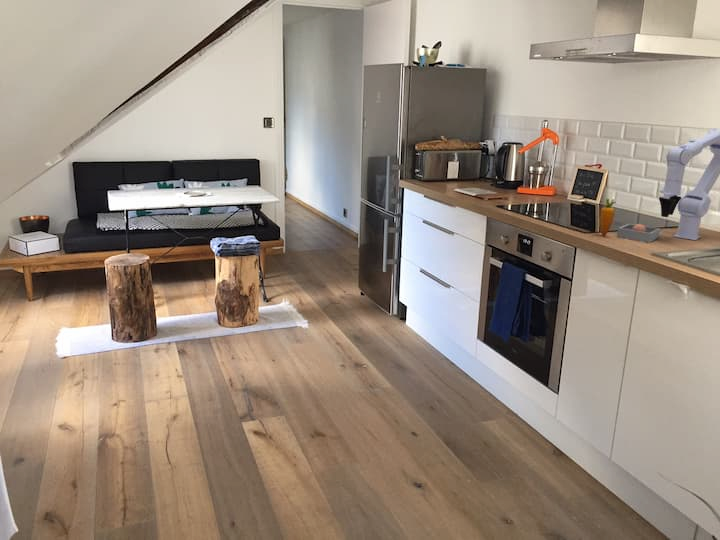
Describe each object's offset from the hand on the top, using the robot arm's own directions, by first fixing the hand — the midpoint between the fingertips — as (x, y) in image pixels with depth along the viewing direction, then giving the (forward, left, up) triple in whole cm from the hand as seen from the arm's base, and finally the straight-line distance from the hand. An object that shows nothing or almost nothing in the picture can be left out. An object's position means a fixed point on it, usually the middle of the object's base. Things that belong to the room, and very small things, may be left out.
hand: (666, 215), depth 231 cm
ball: (+4, -8, -7) cm, 11 cm away
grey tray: (+4, -8, -9) cm, 13 cm away
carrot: (+14, -18, -10) cm, 25 cm away
